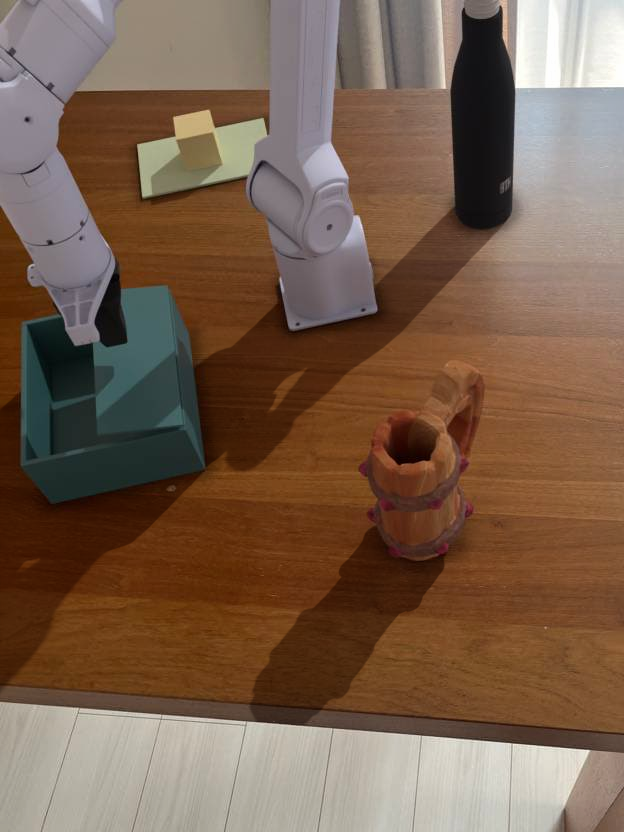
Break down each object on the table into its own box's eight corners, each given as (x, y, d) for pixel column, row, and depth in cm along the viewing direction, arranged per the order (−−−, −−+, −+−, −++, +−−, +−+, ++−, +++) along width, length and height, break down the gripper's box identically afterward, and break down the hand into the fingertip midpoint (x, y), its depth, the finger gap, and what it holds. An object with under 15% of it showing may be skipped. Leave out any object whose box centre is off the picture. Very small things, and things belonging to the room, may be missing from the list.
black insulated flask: (458, 189, 101) (447, -104, 75) (514, 191, 100) (523, -105, 74) (451, 228, 98) (438, -63, 72) (509, 230, 97) (517, -64, 71)
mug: (433, 592, 77) (423, 501, 64) (356, 551, 79) (330, 456, 66) (515, 469, 82) (520, 361, 69) (439, 434, 85) (431, 325, 72)
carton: (189, 334, 94) (170, 289, 88) (205, 470, 85) (185, 429, 79) (49, 365, 93) (21, 322, 88) (51, 504, 84) (20, 466, 79)
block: (219, 141, 109) (209, 109, 105) (223, 164, 106) (213, 132, 103) (183, 149, 108) (172, 116, 105) (187, 172, 106) (175, 139, 103)
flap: (167, 287, 88) (167, 285, 87) (183, 426, 79) (182, 424, 79) (91, 293, 86) (90, 291, 86) (97, 436, 78) (97, 434, 77)
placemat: (263, 120, 110) (263, 117, 110) (274, 171, 106) (274, 168, 105) (137, 146, 110) (137, 144, 110) (143, 199, 105) (142, 197, 105)
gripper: (2, 171, 72) (71, 292, 84) (-1, 297, 65) (74, 411, 77) (88, 153, 72) (144, 277, 84) (94, 276, 65) (154, 393, 77)
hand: (116, 340), depth 80 cm, fingers closed
